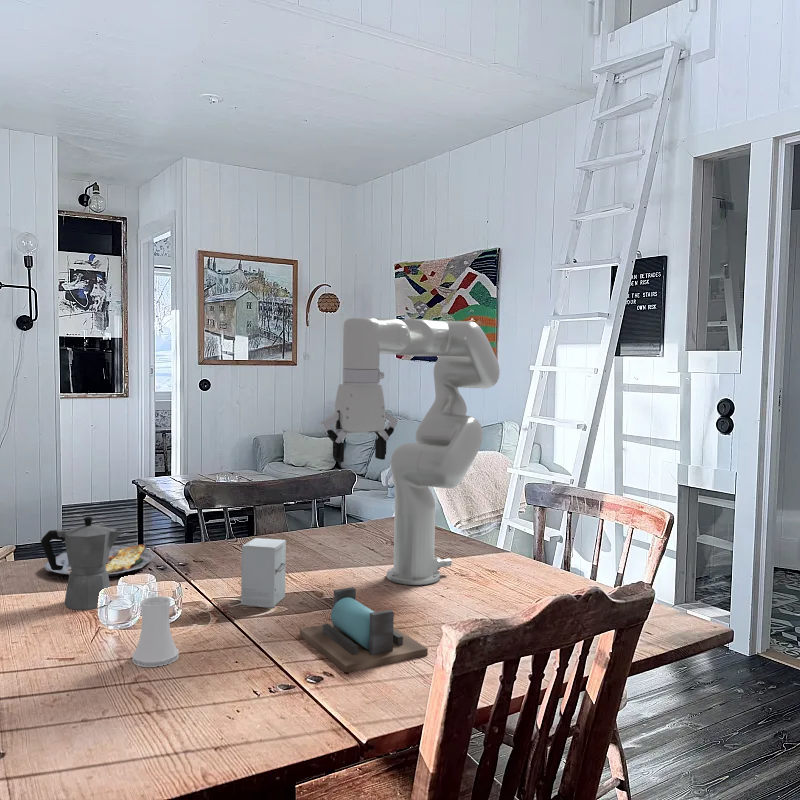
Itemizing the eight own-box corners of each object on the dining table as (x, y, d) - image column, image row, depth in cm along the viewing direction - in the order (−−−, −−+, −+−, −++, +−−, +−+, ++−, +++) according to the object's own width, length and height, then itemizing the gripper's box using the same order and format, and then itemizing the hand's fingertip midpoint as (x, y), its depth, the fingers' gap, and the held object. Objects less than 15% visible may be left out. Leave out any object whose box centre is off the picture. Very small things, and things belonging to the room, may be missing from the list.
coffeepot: (122, 593, 166) (122, 510, 165) (123, 607, 157) (122, 519, 156) (43, 600, 161) (42, 514, 160) (39, 614, 152) (38, 524, 151)
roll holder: (375, 621, 152) (376, 580, 151) (427, 655, 136) (428, 609, 135) (299, 635, 144) (300, 592, 143) (345, 673, 127) (346, 624, 127)
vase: (153, 671, 127) (152, 611, 126) (122, 660, 131) (122, 602, 130) (188, 656, 133) (188, 599, 132) (158, 646, 137) (158, 591, 136)
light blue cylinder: (333, 633, 143) (329, 603, 142) (361, 623, 146) (357, 593, 145) (361, 654, 133) (356, 621, 132) (391, 642, 136) (387, 610, 135)
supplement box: (273, 608, 158) (274, 547, 158) (240, 605, 160) (240, 545, 159) (286, 597, 166) (287, 539, 165) (253, 594, 167) (254, 536, 166)
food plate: (77, 551, 199) (77, 537, 199) (167, 554, 198) (167, 541, 198) (28, 582, 174) (28, 567, 174) (130, 587, 173) (130, 571, 173)
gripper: (388, 377, 167) (386, 455, 168) (315, 377, 158) (314, 460, 160) (406, 378, 161) (404, 460, 162) (330, 378, 152) (329, 465, 153)
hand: (359, 460), depth 161 cm, fingers open, 9 cm apart
